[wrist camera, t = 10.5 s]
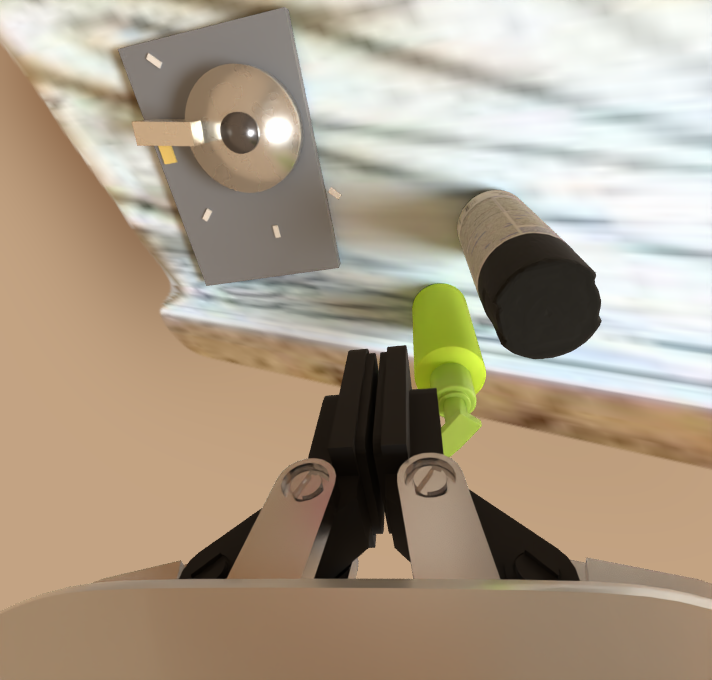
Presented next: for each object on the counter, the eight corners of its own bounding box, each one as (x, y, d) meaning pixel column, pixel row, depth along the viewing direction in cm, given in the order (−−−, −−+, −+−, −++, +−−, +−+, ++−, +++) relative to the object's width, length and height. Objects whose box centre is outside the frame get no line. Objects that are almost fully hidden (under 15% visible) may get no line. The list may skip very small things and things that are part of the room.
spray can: (463, 263, 44) (501, 374, 27) (448, 199, 41) (479, 278, 24) (530, 245, 43) (615, 349, 25) (519, 177, 40) (608, 243, 22)
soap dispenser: (396, 321, 48) (392, 448, 31) (433, 273, 45) (451, 386, 28) (438, 346, 49) (456, 483, 32) (477, 301, 46) (521, 427, 29)
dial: (299, 64, 36) (288, 61, 32) (306, 189, 41) (297, 199, 37) (145, 65, 37) (117, 62, 33) (170, 186, 42) (149, 195, 38)
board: (125, 50, 38) (116, 48, 36) (308, 4, 35) (304, 1, 33) (210, 281, 48) (205, 286, 47) (356, 261, 45) (354, 266, 44)
